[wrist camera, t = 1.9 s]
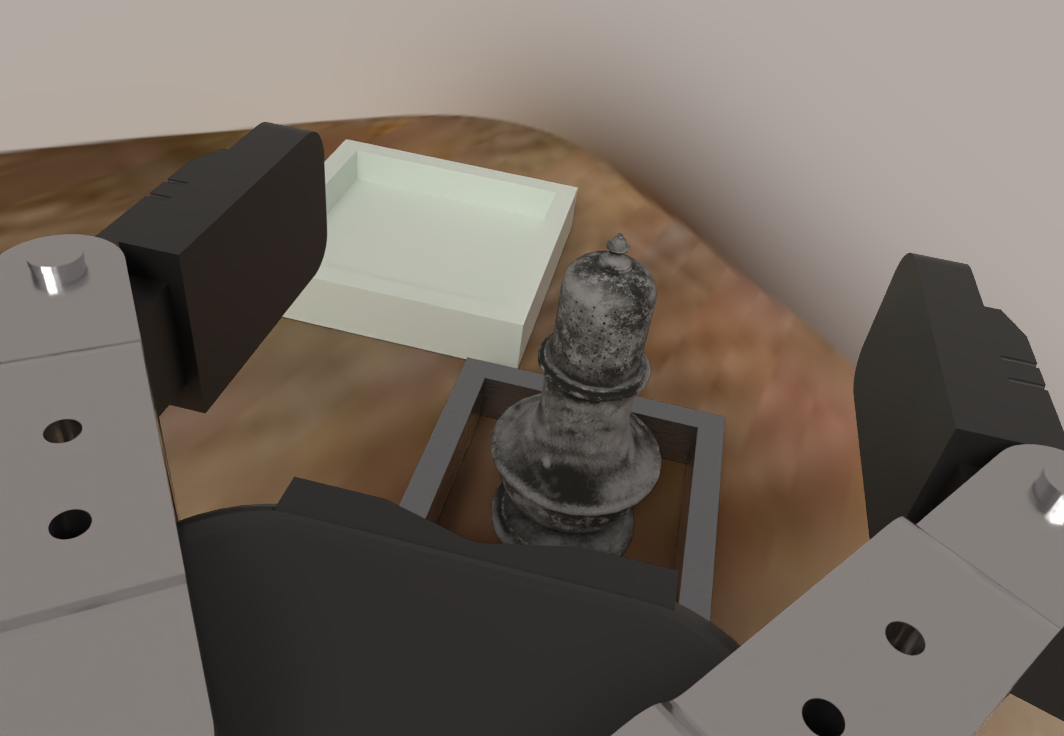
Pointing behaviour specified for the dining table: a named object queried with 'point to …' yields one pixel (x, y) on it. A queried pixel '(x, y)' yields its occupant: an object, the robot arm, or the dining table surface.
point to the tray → (435, 253)
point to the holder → (671, 425)
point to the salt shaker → (582, 416)
